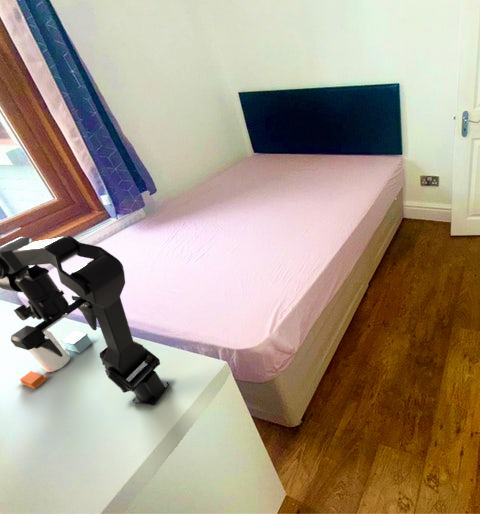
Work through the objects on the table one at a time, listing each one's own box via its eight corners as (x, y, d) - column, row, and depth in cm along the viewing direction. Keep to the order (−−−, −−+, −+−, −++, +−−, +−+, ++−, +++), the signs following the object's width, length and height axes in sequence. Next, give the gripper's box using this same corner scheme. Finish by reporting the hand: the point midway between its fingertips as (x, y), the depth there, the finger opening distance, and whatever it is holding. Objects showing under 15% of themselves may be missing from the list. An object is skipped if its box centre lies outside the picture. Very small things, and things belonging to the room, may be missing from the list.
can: (57, 373, 100) (32, 341, 94) (40, 372, 102) (14, 341, 96) (75, 355, 105) (52, 325, 99) (58, 355, 107) (35, 325, 101)
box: (93, 342, 109) (87, 333, 107) (79, 353, 106) (73, 344, 104) (80, 339, 112) (74, 330, 110) (67, 349, 109) (60, 341, 107)
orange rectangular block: (47, 379, 99) (43, 374, 98) (35, 389, 96) (31, 384, 95) (35, 375, 101) (31, 370, 100) (23, 384, 99) (18, 379, 98)
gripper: (60, 266, 91) (91, 313, 99) (-22, 314, 77) (22, 365, 85) (87, 269, 86) (118, 319, 94) (5, 321, 72) (49, 374, 80)
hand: (78, 342), depth 88 cm, fingers open, 9 cm apart
